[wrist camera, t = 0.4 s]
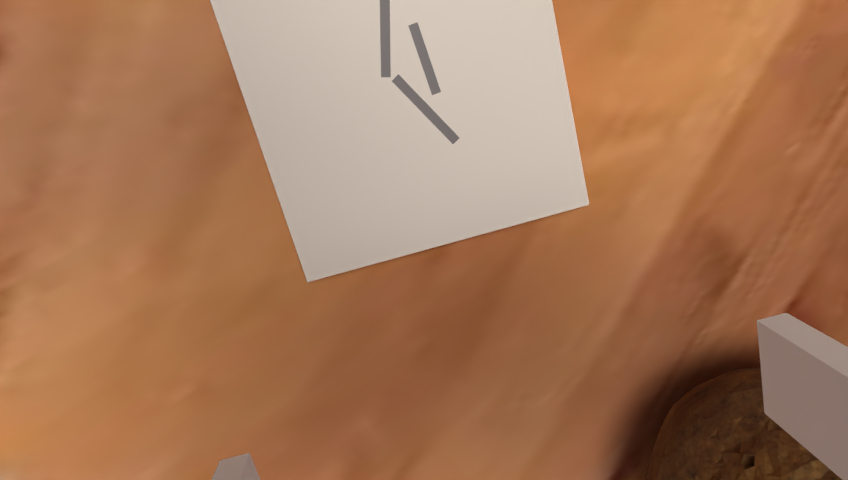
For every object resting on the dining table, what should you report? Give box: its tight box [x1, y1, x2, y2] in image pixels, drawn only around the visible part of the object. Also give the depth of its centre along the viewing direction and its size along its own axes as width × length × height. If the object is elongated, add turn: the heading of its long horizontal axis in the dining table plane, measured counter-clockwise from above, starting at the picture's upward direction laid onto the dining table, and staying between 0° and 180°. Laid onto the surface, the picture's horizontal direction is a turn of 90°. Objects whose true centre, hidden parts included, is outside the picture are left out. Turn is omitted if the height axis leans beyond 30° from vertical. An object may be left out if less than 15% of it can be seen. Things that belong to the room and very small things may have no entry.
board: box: [210, 0, 589, 282], centre depth 35 cm, size 30×20×2 cm, turn 15°
